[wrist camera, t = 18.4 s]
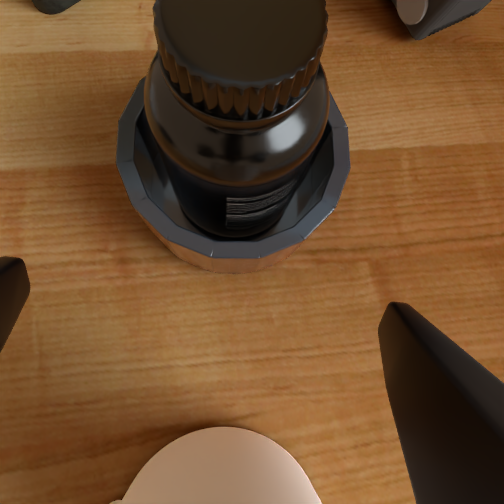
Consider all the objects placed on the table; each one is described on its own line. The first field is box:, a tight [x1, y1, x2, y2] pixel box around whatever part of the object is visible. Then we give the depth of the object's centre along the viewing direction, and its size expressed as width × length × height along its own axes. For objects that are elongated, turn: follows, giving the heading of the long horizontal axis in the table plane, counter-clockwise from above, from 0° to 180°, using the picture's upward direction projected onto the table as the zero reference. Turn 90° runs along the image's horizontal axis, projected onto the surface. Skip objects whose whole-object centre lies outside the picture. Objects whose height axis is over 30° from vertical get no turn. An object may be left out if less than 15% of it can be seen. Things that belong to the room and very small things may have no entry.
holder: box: [116, 76, 350, 274], centre depth 20 cm, size 11×11×5 cm
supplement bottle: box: [144, 0, 330, 237], centre depth 16 cm, size 7×7×12 cm
